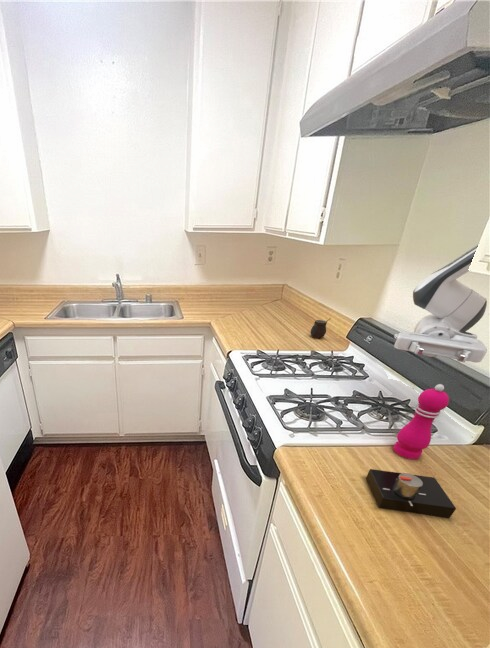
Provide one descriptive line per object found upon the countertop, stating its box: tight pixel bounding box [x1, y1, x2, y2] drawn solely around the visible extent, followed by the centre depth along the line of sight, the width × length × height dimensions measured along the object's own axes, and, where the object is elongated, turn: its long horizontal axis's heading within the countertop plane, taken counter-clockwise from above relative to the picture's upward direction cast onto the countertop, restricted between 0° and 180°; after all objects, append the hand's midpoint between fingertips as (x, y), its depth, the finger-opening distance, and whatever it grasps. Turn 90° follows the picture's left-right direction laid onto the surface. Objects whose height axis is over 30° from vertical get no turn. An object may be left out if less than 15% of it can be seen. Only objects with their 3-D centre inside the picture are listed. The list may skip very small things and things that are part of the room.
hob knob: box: [393, 472, 423, 499], centre depth 74 cm, size 4×4×4 cm
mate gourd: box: [310, 317, 331, 339], centre depth 171 cm, size 7×8×10 cm
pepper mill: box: [393, 383, 450, 460], centre depth 87 cm, size 7×7×20 cm
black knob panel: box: [365, 468, 457, 519], centre depth 77 cm, size 14×11×3 cm
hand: (440, 355), depth 89 cm, fingers open, 8 cm apart
